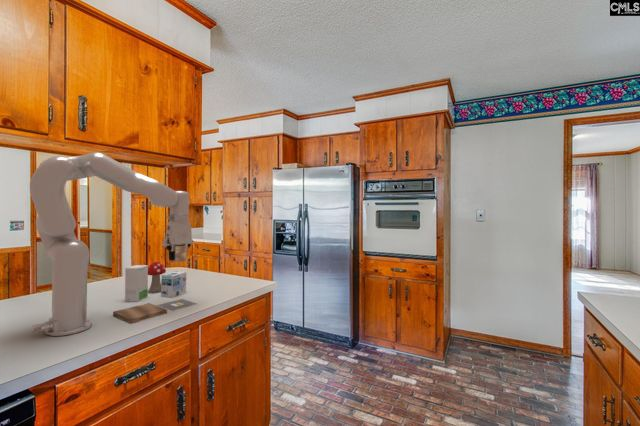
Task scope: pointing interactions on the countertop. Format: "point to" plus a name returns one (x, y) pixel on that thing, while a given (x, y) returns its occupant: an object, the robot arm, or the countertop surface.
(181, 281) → the light bulb box
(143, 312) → the walnut board
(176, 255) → the birch block
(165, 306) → the mat
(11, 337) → the countertop surface
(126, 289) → the skincare box
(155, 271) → the decorative mushroom
